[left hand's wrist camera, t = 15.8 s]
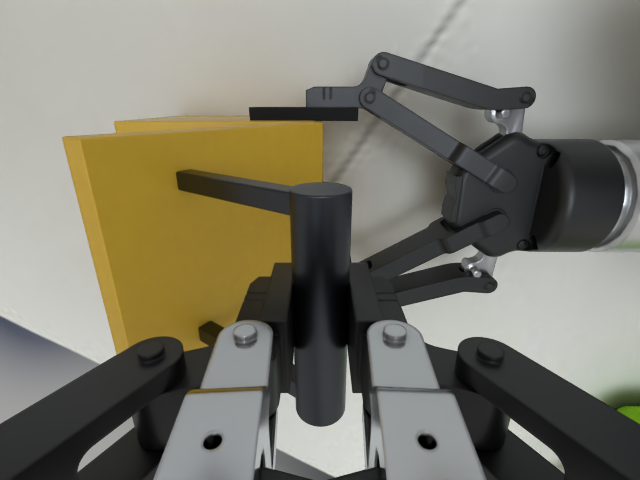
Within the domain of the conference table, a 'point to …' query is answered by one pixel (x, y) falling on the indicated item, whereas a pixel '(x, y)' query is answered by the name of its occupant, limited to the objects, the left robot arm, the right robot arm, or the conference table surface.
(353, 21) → the conference table surface
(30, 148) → the conference table surface
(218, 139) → the lid
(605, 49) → the conference table surface
